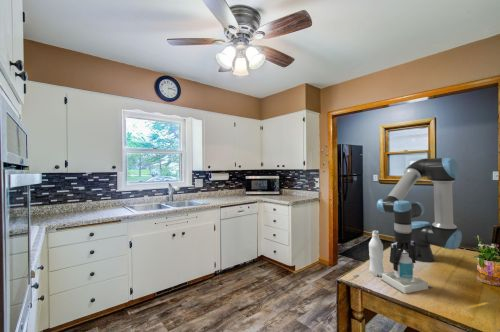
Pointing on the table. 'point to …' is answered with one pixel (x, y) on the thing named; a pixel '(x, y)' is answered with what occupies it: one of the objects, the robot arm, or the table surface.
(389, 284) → the mat
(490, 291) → the table surface
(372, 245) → the water bottle
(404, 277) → the pill bottle
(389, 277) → the tray
